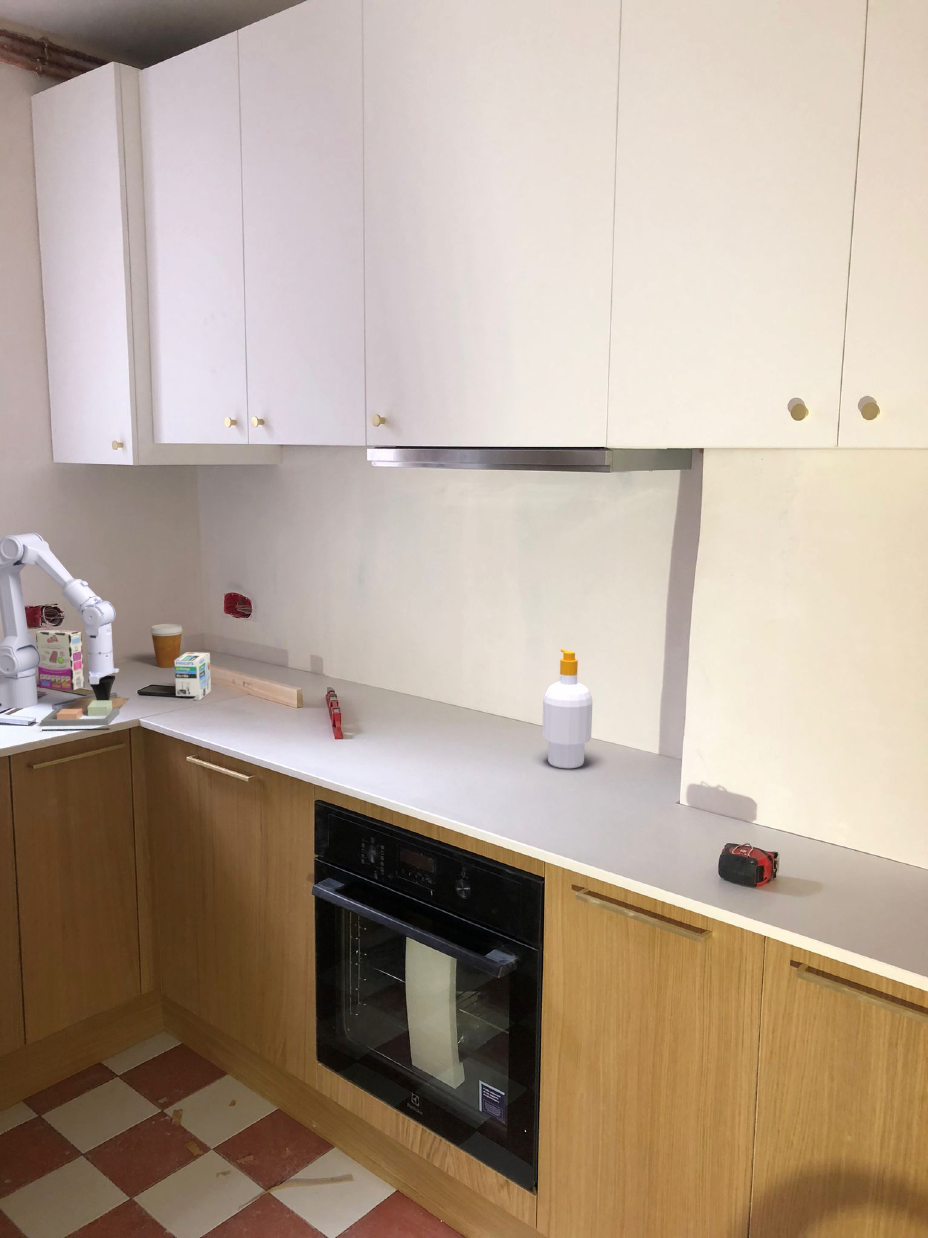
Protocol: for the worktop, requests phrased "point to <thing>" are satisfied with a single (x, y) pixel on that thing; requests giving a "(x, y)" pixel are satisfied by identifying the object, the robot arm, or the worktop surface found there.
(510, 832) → the worktop surface
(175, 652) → the disposable coffee cup
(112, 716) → the tray
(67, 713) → the terracotta tile
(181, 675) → the light bulb box
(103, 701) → the sage-green tile
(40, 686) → the candy bar box
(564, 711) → the soap bottle
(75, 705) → the walnut board
